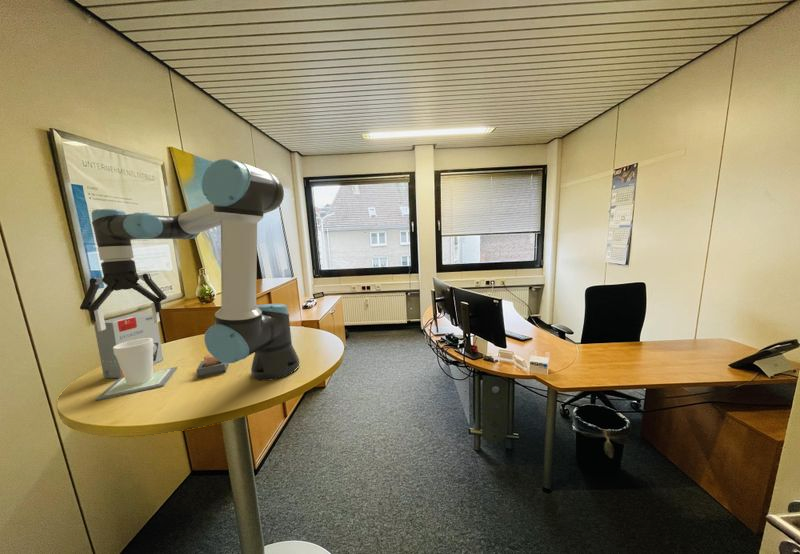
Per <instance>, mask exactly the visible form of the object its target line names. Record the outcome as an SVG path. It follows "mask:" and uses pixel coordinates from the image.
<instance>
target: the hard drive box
mask: <svg viewBox="0 0 800 554" xmlns="http://www.w3.org/2000/svg"><path fill="white" fill-rule="evenodd" d="M104 321H105V326H106V329H105V330H103V331H98V328H97V323H96V322H95V323H94V324H93V325H94V326H93V327H94V331H95V337H96V343H97V348H98V353H99V358H100V362H101V368H102V369H101V370H102V375H103V378H106V379H107V378H109V379H119V378H122V377H124V375H123V373H122V370H121V368H120V365H119V363H118V360H117V358H116V355H114V350H113V347H114V346H116V345H118V344H121V343H124V342H127V341H132V340H136V339H143V338H152V339H153V344H154V347H153V365H155V364H158V363H159V362H160V363H161V362H162V361H164V358H163V357H164V355H163V350H162V343H161V336H160V329H159V322H158V323H154V319H153V313H152V311H150V312H149V311H147V312H145V311H143V312H140V311H139V312H136V313H132V314H128V315H123V316H118V317H115V318H114V317H113V318H110V319H107V320H106V319H104Z"/></svg>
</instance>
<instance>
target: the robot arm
mask: <svg viewBox="0 0 800 554" xmlns="http://www.w3.org/2000/svg"><path fill="white" fill-rule="evenodd" d="M201 190H202V194H203V196H205V199H206V201H208V203H205V204H203V205H200V206H198V207H196V208H192V209H190V210H188V211H185V212H182V213H180V214H177V215H173V216H172V215H171V216H170V215H158V214H156V215H155V214H153V213H151V212H150V213H149V212H134V213H128V214H126V212H125V211H124V210H122V209H113V208H109V209H108V208H103V209H100V208H99V209H95V210H92V211H91V220H92V222H91V225H92V228H93V232H94V237H95V242H96V245H97V250H98V255H99V260H100V261H102V262H101V263H100V266H101V271H102V275H103V277H100V278H99V277H91V278H90V279H89V287H88V288H87V291H86V293H85V295H84V297H83V300H82V302H81V304H80V307H79V309H80V310H81V311H83V310H85V311H88V312H89V313H90V318H91V321H92V322H95V323H97V328H98V331H103V330H105V329H106V326H105V317H104V312H103V308H100V307H101V306H102V305H103V303H104V302H105V301H106V299H107V298H108V297H109V296H110V295H111V294H112V293H113V292H114V291H115V292H116V291H117V292H118V291H120V290H121V291H122V290H125V291H126V290H131V289H133V290H134V291H137V293H139V294H141V295H142V296H143V297H144V298H147V299H148V300H149V301H151V302H152V303H150V307H151V312H152V313H153V319H154V323H158V324H159V322H161V319H160V313H161V312H162V301H164V300H166V299H167V298H168V297H167V295H166V294H165V293H164V292H163V291H162V290H161V288H160V287H159V286H158V285H157V283H155V282H154V280H153V279H152V276H151V273H149V272H146V273H143V274H138V273H137V267H136V261H135V260H133V258H135V256H134V251H133V246H132V240H133V241H134V240H190V239H195V238H197V237H198V236H199V235H200V233H202V232H205V231H208V230H211V229H214V228H216V227H220V276H221V277H220V279H221V280H220V282H221V283H220V284H221V285H220V286H221V287H220V288H221V289H220V291H221V293H220V298H221V300H220V301H221V302H220V303H221V304H220V305H221V307H220V308H219V309H218V310H217V311H216V312H215V313H214V324H213V325H211V326H209V328H208V329H207V330H206V331H205V333H204V339H203V340H204V345H205V348H206V349H207V351H208V352H209V355H210V354H212V356H213V357H214V358H215V359H217V360H218V361H220V362H223V363H228V364H234V363H237V362H240V361H241V360H246V359H247V357H249V356H251V355H252V354H254V355H253V360H252V364H251V367H250V373H251V377H252V378H253V379H254V380H257V381H271V379H273V380H276V379H275V378H278V379H280V378H279V377H281V378H283V377H282V376H284V377H286V376H285V375H287V374H289V373H291V372H292V371H294V370H295V369H296V368H297V367H298V366H299V364H300V359H299V356H298V354H297V351H296V350H295V348H294V346H293V341H292V334H291V333H292V332H291V324H290V313H289V310H288V306H287V305H286V304H284V303H266V304H257V281H258V280H257V278H258V277H257V271H258V270H257V263H258V262H257V261H258V259H257V257H258V223H259V222H260V221H262V219H263V218H264V215H265V214H267V213H270V212H273V211H274V210H276V209H278V208H279V207H280V206H281V204H283V203H282V202H283V201H284V196H285V195H284V194H285V193H284V192H285V191H284V187H283V185H282V183H281V181H280V179H279V178H278V177H277V176H275V174H273V173H272V172H269V171H268V170H264V169H261V168H257V167H256V166H252V165H250V164H246V163H244V162H242V161H239V160H233V159H228V158H221V159H217V160H215V161H213V162H212V163H210V166H208V167H207V168H206V169H205V170H204V172H203V175H202V179H201ZM139 280H141V281H143V282H144V283H145V284H146V285H147V287H149V289H151V291H152V292H153V293H154V294H153V293H152V292H151V291H149V290H148V289H147V288H145V287H143V286H142V285H141V284H140V283H139V282H138V281H139ZM102 283H103V284H105V285H106V287H105V288H104V289H103V290H102V292H101V293H100V294H99V296H98V297H97V298H96V299H94V298H95V297H96V295H97V292H98V290H99V287H100V286H101V285H102ZM299 367H300V366H299ZM291 374H292V373H291ZM289 375H290V374H289ZM287 376H288V375H287Z"/></svg>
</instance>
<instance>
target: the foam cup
mask: <svg viewBox="0 0 800 554" xmlns="http://www.w3.org/2000/svg"><path fill="white" fill-rule="evenodd" d="M153 347H154V344H153V339H152V338H143V339H136V340H132V341H127V342H124V343H121V344H118V345H116V346H114V347H113V350H114V355H116V358H117V360H118V363H119V365H120V368H121V370H122V373H123V375H124V378H125V380H126V383H127V385H129V386H133V385H138V384H142V383H145V382H147V381H150V380H151V379H153V371H154V364H153Z"/></svg>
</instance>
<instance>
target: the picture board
mask: <svg viewBox="0 0 800 554" xmlns="http://www.w3.org/2000/svg"><path fill="white" fill-rule="evenodd" d="M177 369H178V366H174V367H170V368H169V367H167V368H164V369H160V370H153V379H151V380H150V381H147V382H145V383H142V384H138V385H133V386H129V385H127V383H126V380H125V378H124V377H122V378H117V380H115V381H114V382H113V383H112V384H111V385H109V386H108V387H107V388H106V389H105V390H104V391H103V392H102V393H101V394H99V395H98V396H97V397H96V398H94V399H95V401H96V400H98V401H102V400H106V398H107V399H110V398H111V397H112V398H115V396H116V397H120V396H119V395H121V396H125V395H124V394H126V395H129V393H130V394H133V393H134V392H135V393H138V392H144V391H148V390H152V389H156V388H157V389H158V388H162V387H164V386H165V385H166V384H167V382H169V380H170V378H171V377H172V376H173V375H174V374H175V372H176V371H177ZM101 399H102V400H101Z"/></svg>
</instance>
